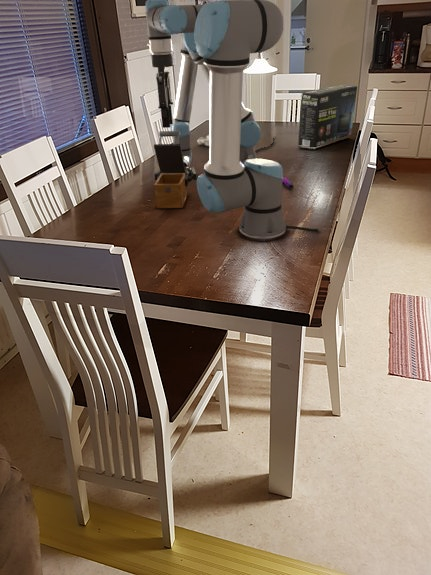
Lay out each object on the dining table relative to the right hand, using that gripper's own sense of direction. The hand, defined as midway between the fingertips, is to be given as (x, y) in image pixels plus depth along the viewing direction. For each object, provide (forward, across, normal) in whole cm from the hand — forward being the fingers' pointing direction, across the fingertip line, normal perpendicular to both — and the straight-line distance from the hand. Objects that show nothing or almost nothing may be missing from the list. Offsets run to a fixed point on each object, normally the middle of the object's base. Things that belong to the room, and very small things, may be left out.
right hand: (167, 125), depth 166 cm
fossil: (+27, -84, +9) cm, 89 cm away
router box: (+27, -82, +70) cm, 111 cm away
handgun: (+28, -19, +41) cm, 53 cm away
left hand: (+21, 0, 0) cm, 21 cm away
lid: (+12, +1, 0) cm, 12 cm away
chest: (+28, +4, 0) cm, 28 cm away
